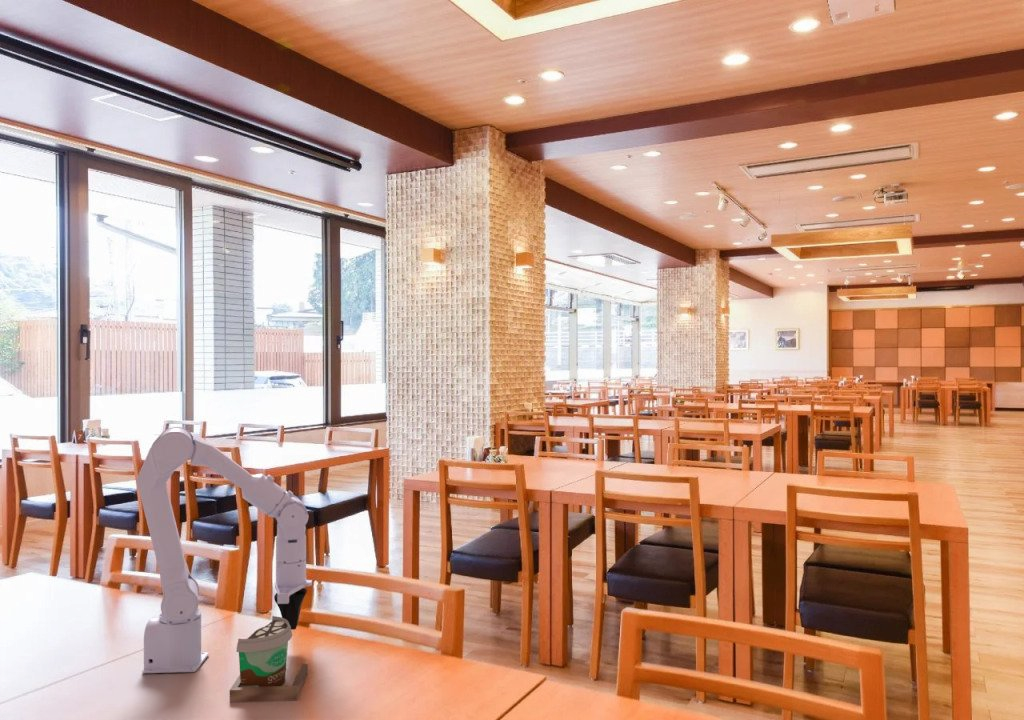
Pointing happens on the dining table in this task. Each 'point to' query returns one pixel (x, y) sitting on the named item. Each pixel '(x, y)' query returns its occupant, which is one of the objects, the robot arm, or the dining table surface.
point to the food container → (265, 655)
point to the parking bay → (269, 690)
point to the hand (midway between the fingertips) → (290, 628)
